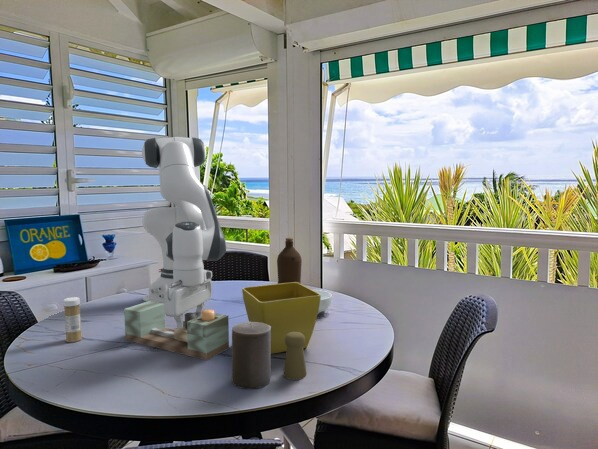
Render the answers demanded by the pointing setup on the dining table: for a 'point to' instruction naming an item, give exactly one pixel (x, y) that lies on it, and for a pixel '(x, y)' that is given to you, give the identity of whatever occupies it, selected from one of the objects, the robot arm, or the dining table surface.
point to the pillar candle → (251, 355)
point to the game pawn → (295, 356)
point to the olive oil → (289, 264)
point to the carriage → (182, 332)
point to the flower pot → (283, 310)
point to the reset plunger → (208, 315)
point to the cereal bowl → (324, 300)
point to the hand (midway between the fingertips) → (190, 322)
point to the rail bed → (151, 331)
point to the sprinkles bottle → (72, 319)
